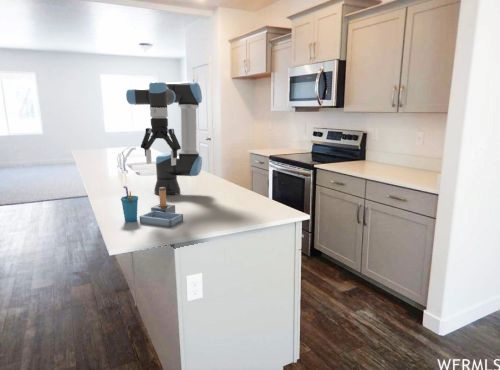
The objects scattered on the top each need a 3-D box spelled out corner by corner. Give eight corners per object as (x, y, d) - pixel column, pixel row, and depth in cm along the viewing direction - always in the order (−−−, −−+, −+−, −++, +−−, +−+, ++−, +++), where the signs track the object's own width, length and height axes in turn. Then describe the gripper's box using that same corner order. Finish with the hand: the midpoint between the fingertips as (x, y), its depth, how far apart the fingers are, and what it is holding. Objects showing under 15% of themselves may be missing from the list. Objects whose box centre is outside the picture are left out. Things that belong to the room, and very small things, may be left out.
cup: (117, 217, 167) (115, 185, 164) (134, 215, 171) (132, 184, 168) (126, 225, 155) (123, 191, 152) (144, 222, 160) (142, 189, 157)
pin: (159, 214, 171) (157, 188, 169) (162, 213, 174) (161, 186, 171) (164, 215, 170) (163, 188, 167) (168, 213, 173) (166, 187, 170)
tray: (139, 222, 159) (139, 216, 158) (153, 216, 168) (153, 210, 168) (170, 227, 153) (170, 220, 153) (183, 220, 162) (183, 214, 162)
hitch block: (151, 215, 170) (151, 207, 169) (161, 211, 177) (161, 203, 176) (165, 217, 167) (165, 209, 166) (175, 213, 174) (175, 205, 173)
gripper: (131, 117, 164) (133, 163, 168) (178, 118, 155) (180, 167, 159) (141, 117, 171) (144, 161, 175) (187, 117, 162) (188, 164, 166)
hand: (161, 164), depth 167 cm, fingers open, 13 cm apart
